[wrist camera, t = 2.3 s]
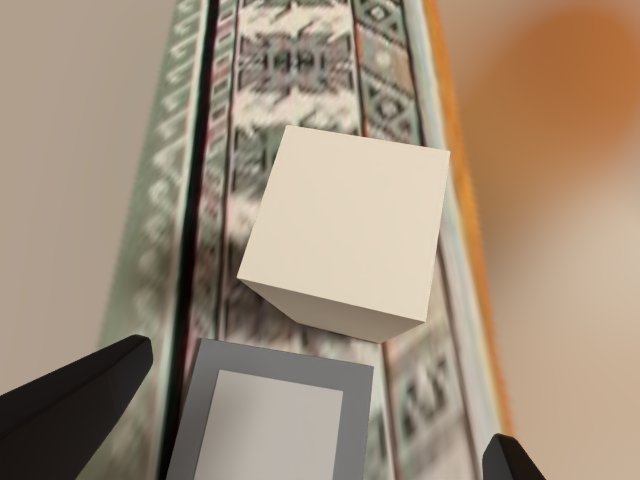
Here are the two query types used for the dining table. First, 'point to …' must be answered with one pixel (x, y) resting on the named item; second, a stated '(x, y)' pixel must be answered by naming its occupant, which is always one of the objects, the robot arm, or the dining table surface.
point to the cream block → (348, 233)
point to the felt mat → (272, 417)
